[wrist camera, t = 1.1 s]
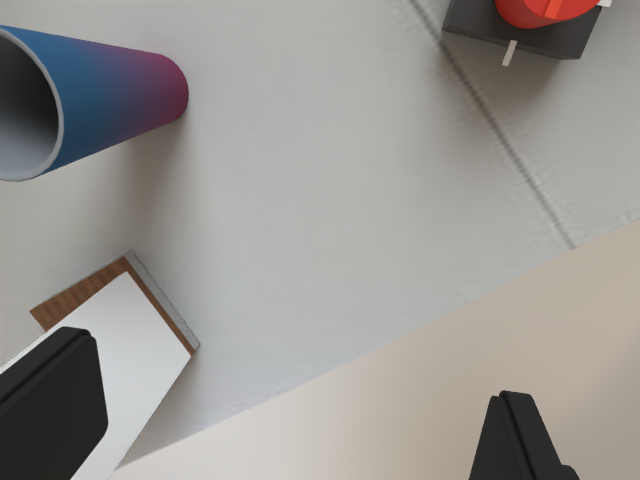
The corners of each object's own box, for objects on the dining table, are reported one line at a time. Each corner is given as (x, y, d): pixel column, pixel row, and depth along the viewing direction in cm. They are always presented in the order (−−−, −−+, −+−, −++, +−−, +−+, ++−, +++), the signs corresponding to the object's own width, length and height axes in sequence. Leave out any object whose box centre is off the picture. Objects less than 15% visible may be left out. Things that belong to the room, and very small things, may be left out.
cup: (213, 69, 32) (81, 72, 18) (181, 151, 35) (44, 207, 21) (129, 21, 32) (-71, -13, 18) (103, 108, 34) (-89, 136, 20)
